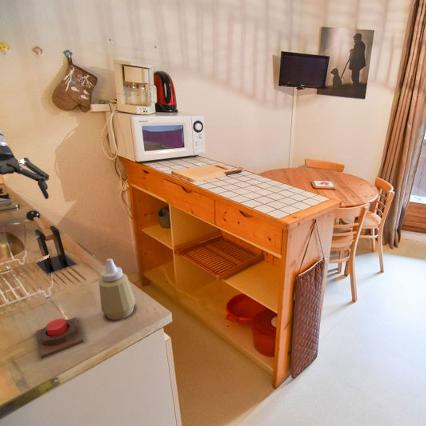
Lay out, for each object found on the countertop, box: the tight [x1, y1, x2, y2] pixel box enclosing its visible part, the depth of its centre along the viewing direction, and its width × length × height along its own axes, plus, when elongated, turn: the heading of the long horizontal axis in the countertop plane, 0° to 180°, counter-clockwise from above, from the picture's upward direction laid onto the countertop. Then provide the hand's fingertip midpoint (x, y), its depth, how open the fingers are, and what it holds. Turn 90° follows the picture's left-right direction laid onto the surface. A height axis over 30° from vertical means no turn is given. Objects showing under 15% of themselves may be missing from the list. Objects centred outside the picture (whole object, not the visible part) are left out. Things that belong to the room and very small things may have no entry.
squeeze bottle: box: [98, 257, 136, 321], centre depth 86 cm, size 8×8×18 cm
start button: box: [45, 318, 68, 336], centre depth 78 cm, size 4×4×2 cm
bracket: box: [33, 225, 77, 275], centre depth 105 cm, size 10×8×14 cm
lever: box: [25, 209, 54, 242], centre depth 105 cm, size 14×4×4 cm, turn 55°
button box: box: [36, 316, 84, 359], centre depth 79 cm, size 10×8×4 cm
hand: (22, 201), depth 109 cm, fingers open, 13 cm apart
